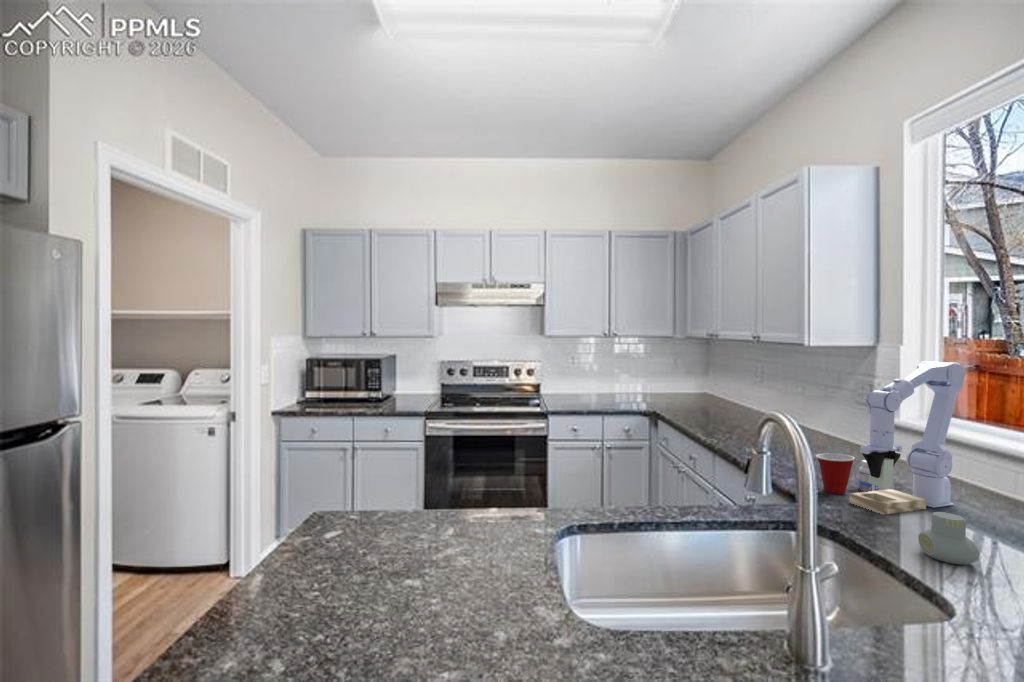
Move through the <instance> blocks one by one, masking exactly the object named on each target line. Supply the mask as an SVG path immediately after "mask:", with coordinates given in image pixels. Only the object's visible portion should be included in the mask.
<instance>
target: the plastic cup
mask: <svg viewBox="0 0 1024 682" xmlns="http://www.w3.org/2000/svg"><path fill="white" fill-rule="evenodd" d="M815 457H816V459H817V461H818V464H819V469H820V474H821V480H822V485H823V486H822V487H823V489H824V492H826V491H827V492H826V493H829V494H834V495H844V494H846V492H847V487H848V484H849V480H850V476H851V471H852V467H853V463H854V461H855V459H856V458H855V457H854V456H852V455H850V454H849V455H848V454H843V453H842V454H840V453H829V452H827V453H817V454H815Z"/></svg>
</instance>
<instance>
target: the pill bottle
mask: <svg viewBox="0 0 1024 682" xmlns="http://www.w3.org/2000/svg"><path fill="white" fill-rule="evenodd" d="M858 468H859V469H858V489H859V488H860V489H862V490H865V491H878V490H880V487H879V486H876V485H873V484H870V471H869V467H868V464H867V462H866V459H862V460H861V466H860V467H858ZM860 489H859V490H860ZM862 490H861V491H862ZM865 491H864V492H865Z"/></svg>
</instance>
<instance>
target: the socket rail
mask: <svg viewBox="0 0 1024 682" xmlns="http://www.w3.org/2000/svg"><path fill="white" fill-rule="evenodd" d="M848 500H849V502H848V503H849V504H850V503H851V505H853V504H854V506H856V505H857V506H856V507H859V506H860V507H859V508H862V507H863V508H862V509H865V508H866V509H865V510H868V509H869V510H868V511H871V510H872V512H874V513H876V514H877V513H878V514H879V513H880V515H890V514H899V513H907V511H908V512H913V510H916V511H921V510H920V509H924V510H927V506H926V499H924V498H921V497H917V496H914V495H913V494H910V493H906V492H903V491H900V490H896V489H894V488H893V489H892V488H890V489H889V488H887V489H879V490H878V491H868V492H865V491H861V492H852V493H851V492H850V493H849V499H848Z"/></svg>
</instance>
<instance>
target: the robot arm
mask: <svg viewBox="0 0 1024 682" xmlns="http://www.w3.org/2000/svg"><path fill="white" fill-rule="evenodd" d="M965 377H966V371H965V370H964V367H963V366H962V364H961V363H959V362H955V361H954V362H945V361H944V362H943V361H929V360H922V361H921V362H920V363H918V364H917V366H916V369H915V370H914V371H913V372H912V373H910V374H909V375H908V376H907V377H905V378H895V379H893V380H892V382H891V383H889V384H887V385H885V386H883V387H882V388H881V389H879V390H872V391H870V392H869V393H868V394H867V397H866V398H865V404H866V406H867V408H868V414H869V415H870V420H869V421H870V423H869V425H870V426H869V427H870V428H869V443H868V444H866V445H860V452H859V453H861V454H862V455H861V456H863V458H864V460H866V462H867V464H868V467H869V471H870V474H871V476H872V477H876V478H879V477H880V473H881V466H882V463H883V460H884V459H885V458H889V459H893V460H894V465H893V469H894V467H895V465H896V463H897V462H898V460H899V459H900V458H901V452H903V445H902V444H897V443H894V442H895V441H894V440H895V414H896V413H895V412H896V411H898V410H899V409H900V406H901V404H902V403H903V401H904V400H906V399H908V398H909V397H911V396H912V395H914V392H915V389H916V388H917V387H920V386H922V385H923V384H925V386H926V387H927V388H929V389H930V390H932V391H933V392H934V395H933V399H932V402H931V407H930V410H929V414H928V418H927V422H926V425H925V428H924V433H923V436H922V438H921V439H922V440H920V441H918V442H916V443H914V444H912V445H911V447H910V448H911V449H910V451H909V452H908V453H907V455H906V459H905V461H906V465H907V467H908V468H909V469H910V472H912V473H913V474H912V475H913V476H912V495H914V496H917V497H921V498H924V499H926V507H931V508H940V507H947V506H954V505H955V504H954V503H953V502H951V491H952V490H951V488H952V483H951V481H950V479H949V478H948V477H947V476H949V474H950V473H951V472H952V469H953V456H954V455H953V454H952V452H951V451H950V450H949V449H948V448H947V447H946V446H945V442H946V439H947V435H948V431H949V428H950V424H951V419H952V417H953V413H954V410H955V409H954V408H955V405H956V401H957V397H958V394H959V392H962V388H963V384H964V381H965ZM898 452H900V453H898Z"/></svg>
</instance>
